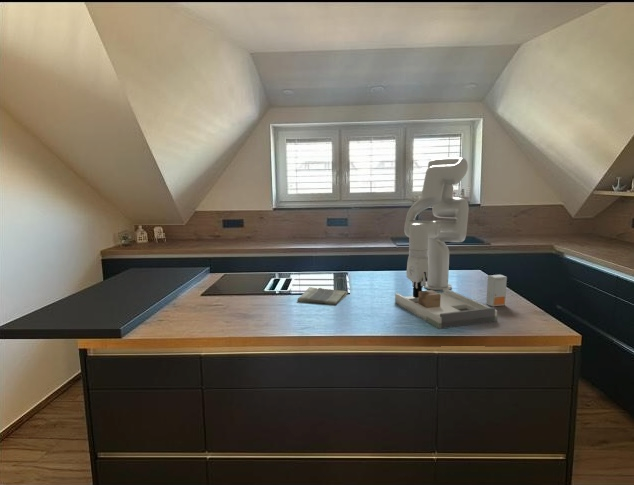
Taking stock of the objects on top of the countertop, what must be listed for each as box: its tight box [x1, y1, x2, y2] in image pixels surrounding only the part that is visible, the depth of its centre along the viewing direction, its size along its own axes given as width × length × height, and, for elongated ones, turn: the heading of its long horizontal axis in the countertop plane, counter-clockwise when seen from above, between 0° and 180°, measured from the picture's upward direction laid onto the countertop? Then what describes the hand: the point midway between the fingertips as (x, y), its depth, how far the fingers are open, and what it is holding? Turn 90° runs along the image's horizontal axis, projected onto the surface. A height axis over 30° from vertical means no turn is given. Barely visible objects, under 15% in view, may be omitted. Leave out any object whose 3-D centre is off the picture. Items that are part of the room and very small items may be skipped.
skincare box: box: [485, 274, 508, 307], centre depth 167 cm, size 6×4×12 cm
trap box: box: [394, 288, 498, 330], centre depth 161 cm, size 32×24×5 cm
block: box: [418, 289, 441, 308], centre depth 162 cm, size 6×6×5 cm
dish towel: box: [297, 286, 349, 306], centre depth 181 cm, size 19×18×3 cm
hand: (417, 297), depth 171 cm, fingers closed
